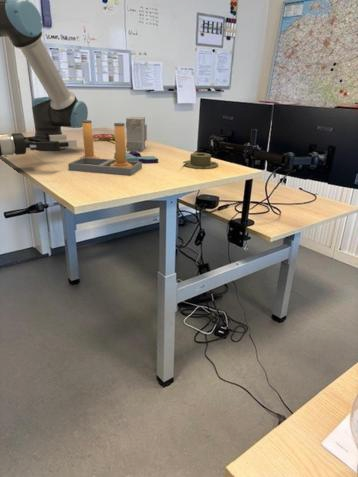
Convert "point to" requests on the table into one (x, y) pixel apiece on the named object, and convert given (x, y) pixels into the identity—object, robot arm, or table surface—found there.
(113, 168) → the tray
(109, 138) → the mechanical gear assembly
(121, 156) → the orange capped peg
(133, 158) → the pistol
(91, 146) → the orange joystick peg
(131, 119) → the circuit breaker
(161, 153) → the table surface
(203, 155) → the flange
